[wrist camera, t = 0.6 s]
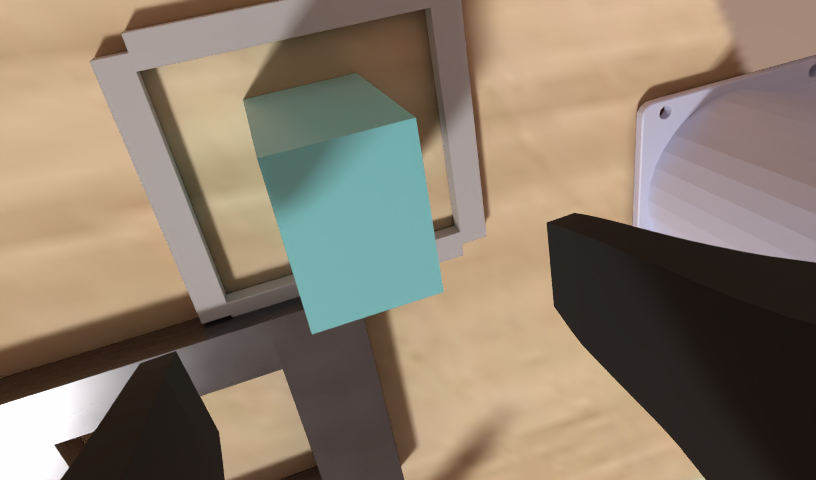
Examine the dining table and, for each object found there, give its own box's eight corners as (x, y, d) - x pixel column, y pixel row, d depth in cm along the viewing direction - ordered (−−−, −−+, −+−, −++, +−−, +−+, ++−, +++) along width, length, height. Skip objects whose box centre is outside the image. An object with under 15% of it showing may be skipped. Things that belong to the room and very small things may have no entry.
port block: (348, 272, 21) (357, 292, 19) (398, 470, 26) (408, 496, 25) (-72, 400, 18) (-93, 434, 17) (80, 592, 23) (72, 629, 22)
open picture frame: (449, -36, 17) (457, -36, 17) (481, 241, 22) (487, 247, 21) (85, 39, 15) (81, 41, 15) (206, 325, 20) (206, 335, 19)
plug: (356, 72, 18) (416, 117, 13) (383, 207, 20) (443, 291, 15) (243, 99, 17) (257, 158, 12) (285, 235, 19) (311, 334, 14)
